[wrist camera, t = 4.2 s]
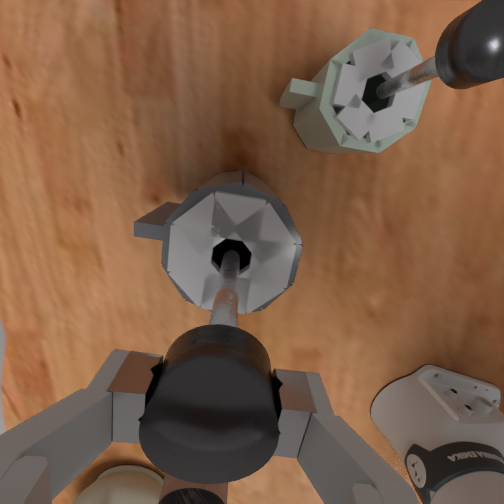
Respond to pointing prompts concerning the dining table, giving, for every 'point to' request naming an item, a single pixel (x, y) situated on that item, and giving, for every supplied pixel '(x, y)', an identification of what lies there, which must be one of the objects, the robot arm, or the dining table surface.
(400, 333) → the dining table surface
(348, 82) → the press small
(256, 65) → the dining table surface
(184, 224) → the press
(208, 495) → the travel mug
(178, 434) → the plunger
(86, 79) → the dining table surface
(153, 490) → the kettle
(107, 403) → the robot arm
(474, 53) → the plunger small
